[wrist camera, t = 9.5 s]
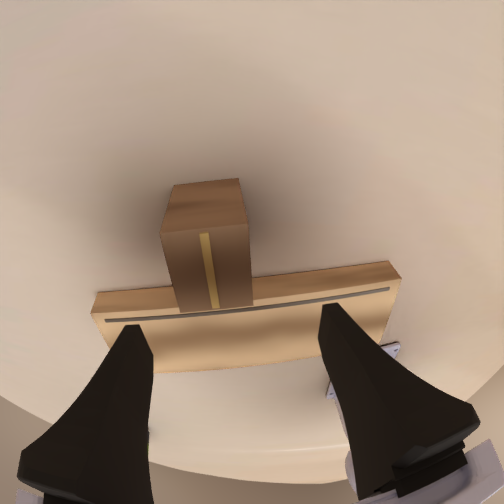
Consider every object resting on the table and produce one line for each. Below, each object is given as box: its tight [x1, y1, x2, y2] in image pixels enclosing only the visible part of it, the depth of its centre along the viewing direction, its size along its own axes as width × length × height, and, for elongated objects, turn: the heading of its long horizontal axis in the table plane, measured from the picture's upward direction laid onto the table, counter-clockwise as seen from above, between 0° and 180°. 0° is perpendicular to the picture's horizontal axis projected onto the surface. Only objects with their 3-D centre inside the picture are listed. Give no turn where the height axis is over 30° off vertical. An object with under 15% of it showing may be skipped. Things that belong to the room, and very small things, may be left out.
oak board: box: [90, 261, 402, 373], centre depth 24 cm, size 8×24×2 cm, turn 93°
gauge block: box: [160, 178, 254, 313], centre depth 18 cm, size 7×4×6 cm, turn 3°
